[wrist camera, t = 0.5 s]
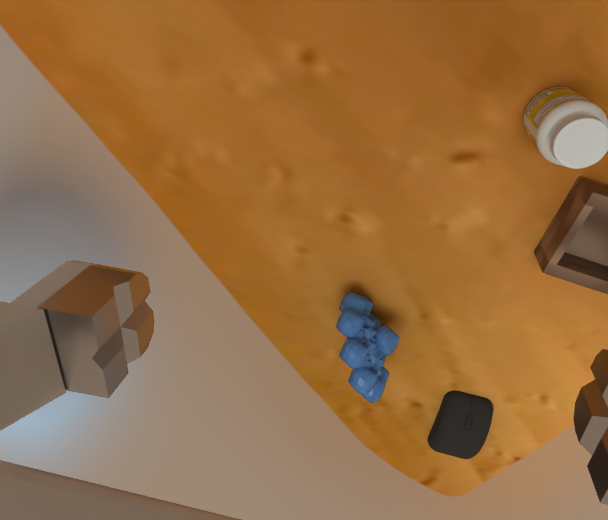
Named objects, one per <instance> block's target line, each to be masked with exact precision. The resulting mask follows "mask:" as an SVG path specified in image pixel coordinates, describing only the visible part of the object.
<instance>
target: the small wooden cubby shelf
mask: <svg viewBox="0 0 608 520" xmlns="http://www.w3.org/2000/svg"><path fill="white" fill-rule="evenodd" d="M534 253H535V256H536V258H537V260H538V263H539V265H540V267H541V270H542V272H543V273H545V274H548V275H551V276H554V277H557V278H560V279H563V280H566V281H569V282H572V283H575V284H578V285H581V286H584V287H587V288H590V289H593V290H597V291H600V292H603V293H606V294H608V185H605V184H602V183H599V182H596V181H593V180H590V179H586V178H583V177H580V176H579V178H578V179H577V181H576V183H575V184H574V186H573V188H572V189H571V191H570V193H569V194H568V196H567V198H566V199H565V201H564V203H563V204H562V206H561V208H560V209H559V211H558V213H557V214H556V216H555V218H554V219H553V221H552V223H551V224H550V226H549V228H548V229H547V231H546V233H545V234H544V236H543V238H542V239H541V241H540V243H539V244H538V246H537V248H536V249H535V251H534Z"/></svg>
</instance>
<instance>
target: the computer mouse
mask: <svg viewBox="0 0 608 520" xmlns="http://www.w3.org/2000/svg"><path fill="white" fill-rule="evenodd" d="M492 415H493V405H492V403H491V402H490V400H488V399H487V398H484V397H480V396H476V395H471V394H468V393H464V392H460V391H451V392H448V393H447V394H446V395H445V396H444V398H443V401H442V404H441V407H440V410H439V412H438V415H437V417H436V420H435V422H434V424H433V427H432V429H431V431H430V434H429V436H428V443H429V446H430V447H431V448H432V449H433V450H435V451H437V452H440V453H444V454H447V455H451V456H455V457H458V458H462V459H469V458H472V457H474V456H475V455H476V454H477V453H478V452H479V451H480V450H481V448H482V446H483V445H484V443H485V440H486V438H487V435H488V432H489V429H490V425H491V420H492Z"/></svg>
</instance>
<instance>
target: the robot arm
mask: <svg viewBox="0 0 608 520" xmlns="http://www.w3.org/2000/svg"><path fill="white" fill-rule="evenodd" d="M149 294H150V287H149V281H148V277H147V276H145V275H144V274H143V273H141V272H136V271H131V270H125V269H120V268H115V267H109V266H104V265H99V264H93V263H87V262H80V261H66V262H65V263H63V264H62V265H61V266H59V267H58V268H57V269H55V270H54V271H53V272H51V273H50V274H48V275H47V276H46V277H44V278H43V279H42V280H40V281H39V282H38V283H36V284H35V285H34V286H32V287H31V288H30V289H29V290H27V291H26V292H24V293H23V294H21V295H20V296H19V297H17V298H16V299H15V300H13V301H12V302H11V303H7V302H0V430H2V429H4V428H6V427H7V426H9V425H11V424H13V423H14V422H16V421H18V420H19V419H21V418H23V417H25V416H26V415H28V414H30V413H32V412H33V411H35V410H37V409H38V408H40V407H42V406H44V405H45V404H47V403H49V402H50V401H52V400H54V399H56V398H57V397H59V396H61V395H63V394H64V393H66V390H68V391H73V392H78V393H84V394H90V395H95V396H100V397H106V398H109V397H110V395H111V394H112V393H113V392H114V391H115V389H116V388H117V387H118V386H119V384H120V383H121V382H122V380H123V379H124V378H125V377H126V375H127V374H128V367H127V363H129V362H131V361H133V360H136V359H138V358H140V357H141V356H142V354H143V353H144V352H145V351H146V349H147V348H148V346H149V343H150V341H151V338H152V335H153V330H154V315H153V311H152V309H151V308H150V307H149V306H148V304H147V303H146V302H145V299H146V298H147V296H148V295H149ZM590 368H591V370H592V372H593V375H594V377H595V380H594V381H592V382H590V383H588V384H587V385H585V386H583V387H581V390H580V392H579V395H578V397H577V400H576V402H575V410H574V425H575V431H576V434H577V437H578V441H579V443H580V444H581V445H582V446H583V447H584V448H585V449H586V450H587V451H588V452H589V453H590V454H591V455H592V457H591V459H590V461H589V463H588V465H587V467H588V470H589V473H590V475H591V478H592V481H593V484H594V487H595V489H596V492H597V495H598V498H599V501H600V503H604V504H608V350H605V349H602V350H601V351H600V352H599V353H598V354H597V355H596V357H595V359H594V361H593V363H592V365H591V367H590ZM0 520H241V519H236V518H233V517H228V516H224V515H220V514H216V513H212V512H208V511H204V510H200V509H196V508H192V507H188V506H184V505H180V504H176V503H172V502H168V501H164V500H159V499H155V498H151V497H147V496H143V495H139V494H135V493H131V492H127V491H123V490H119V489H115V488H110V487H107V486H103V485H99V484H95V483H90V482H86V481H82V480H78V479H74V478H70V477H66V476H62V475H58V474H54V473H50V472H45V471H42V470H38V469H33V468H29V467H25V466H21V465H17V464H13V463H9V462H5V461H1V460H0Z"/></svg>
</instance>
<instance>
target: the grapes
mask: <svg viewBox="0 0 608 520" xmlns="http://www.w3.org/2000/svg"><path fill="white" fill-rule="evenodd" d="M372 307H373V304H372V303H371V301H370V300H368V299H367V298H366V297H365V296H363V295H361V294H356V293H353V292H349V293H347V294H346V296H345V297H344V298H343V300H342V303H341V305H340V308H339V310H340V311H341V312H342V314H341V315H340V317H339V319H338V322H337V325H336V327H337V329H338V330H339V331H340V332H341V333H342V334H343V335H344V336H346V337H347V341H346V342H345V344H344V345H343V347H342V350H341V352H340V355H339V356H340V357H341V359H342V360H343V361H344V362H345V363H346V364H347V365H348V366H349V367H351V368H353V370H352V372H351V375H350V377H349V380H348V382H349V383H350V385H351V386H352V387H353V388H354V389H355V390H356V391H357V392H358V393H359V394H361V395H362V396H363V397H364V398H365V399H366V400H367V401H369V402H371V403H374V402H376V401H378V400H379V399H380V397H381V396H382V393H383V391H384V388H385V386H386V385H385V383H386V381H387V378H388V376H389V372H388V371H387V370H386V369H385V368H384V367H383V364H384V361H385V358H386V356H387V355H389V354H391V353H393V351H394V350H395V348H396V346H397V344H398V341H399V338H400V337H399V336H398V335H397V334H396V333H395V332H394V331H392V330H391V329H390V328H388V327H386V326H382V327H380V325H381V321H380V320H379V319H378V318H377V317H376V316H375V315H373V314H372V313H370V312H371V310H372Z"/></svg>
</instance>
